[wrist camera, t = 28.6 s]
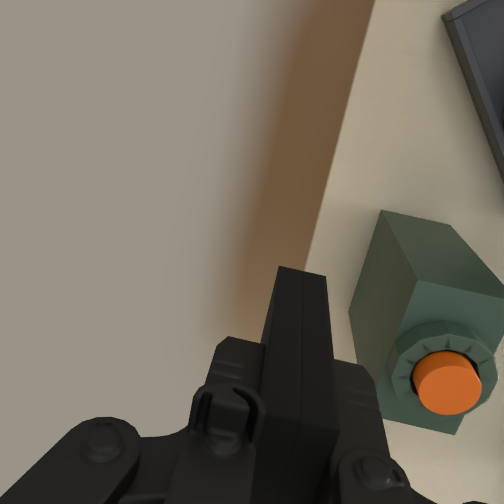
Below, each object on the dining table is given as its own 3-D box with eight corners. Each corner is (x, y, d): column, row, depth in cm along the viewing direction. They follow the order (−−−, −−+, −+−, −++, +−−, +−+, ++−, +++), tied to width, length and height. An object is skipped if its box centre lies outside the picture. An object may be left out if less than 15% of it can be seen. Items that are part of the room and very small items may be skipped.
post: (381, 209, 46) (423, 291, 30) (450, 224, 46) (532, 315, 29) (348, 311, 51) (368, 431, 34) (410, 325, 51) (462, 453, 34)
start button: (424, 344, 31) (430, 360, 30) (482, 358, 31) (491, 374, 30) (405, 390, 33) (410, 407, 31) (460, 403, 33) (468, 421, 31)
